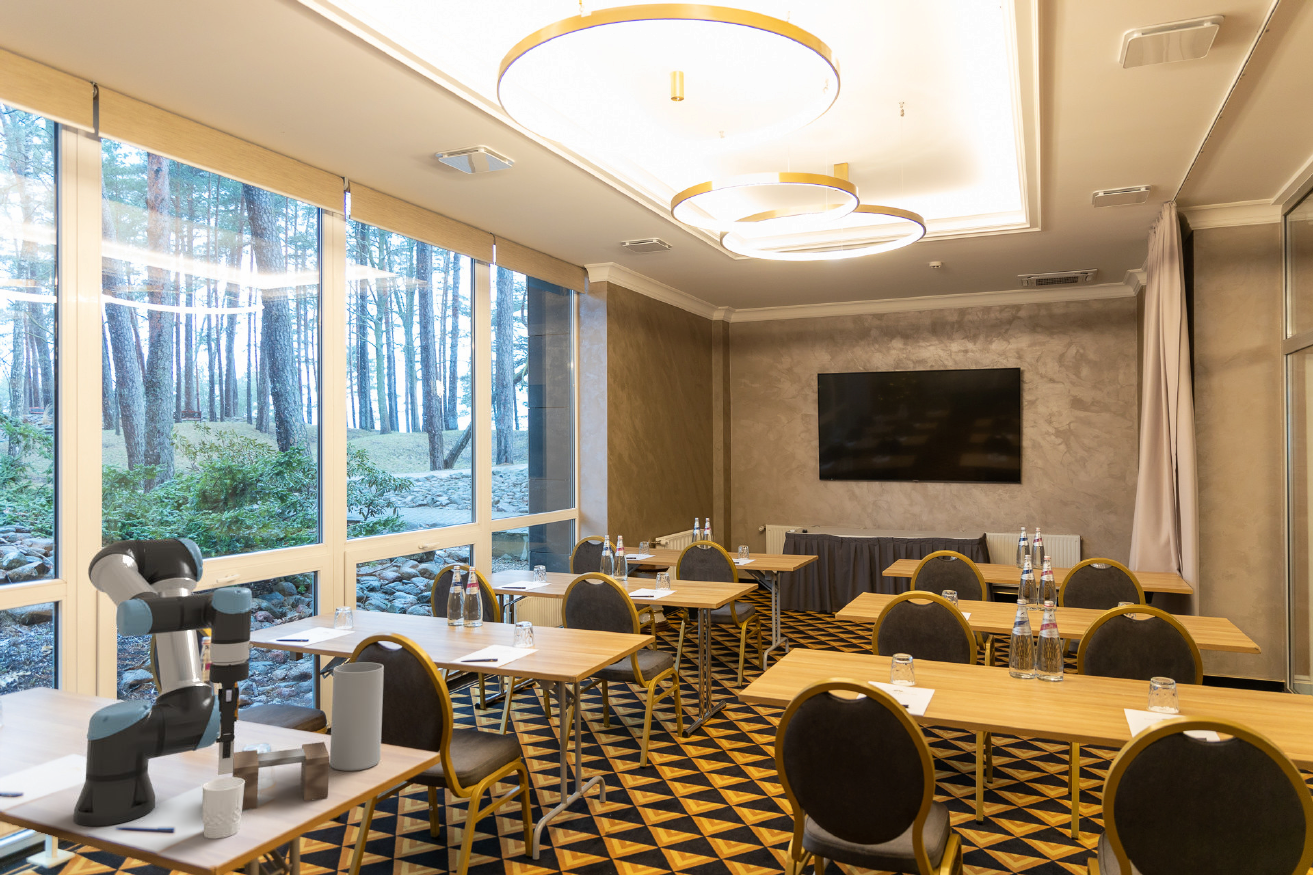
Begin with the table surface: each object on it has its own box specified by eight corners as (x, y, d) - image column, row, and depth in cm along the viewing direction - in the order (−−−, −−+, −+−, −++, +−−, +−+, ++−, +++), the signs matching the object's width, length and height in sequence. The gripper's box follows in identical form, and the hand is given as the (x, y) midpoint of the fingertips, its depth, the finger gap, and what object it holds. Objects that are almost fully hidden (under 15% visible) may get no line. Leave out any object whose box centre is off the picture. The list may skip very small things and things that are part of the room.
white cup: (250, 825, 178) (252, 778, 178) (227, 841, 170) (230, 791, 171) (215, 823, 179) (218, 776, 179) (191, 838, 171) (194, 789, 171)
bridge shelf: (232, 811, 185) (234, 768, 186) (231, 793, 196) (233, 752, 196) (327, 797, 194) (329, 756, 195) (322, 780, 205) (324, 741, 205)
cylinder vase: (361, 774, 210) (364, 674, 212) (319, 768, 214) (323, 670, 215) (389, 758, 222) (393, 664, 224) (349, 753, 226) (353, 660, 227)
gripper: (250, 671, 167) (246, 778, 166) (248, 649, 189) (244, 744, 188) (208, 674, 164) (203, 784, 162) (210, 652, 186) (206, 749, 184)
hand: (225, 763), depth 175 cm, fingers open, 13 cm apart
